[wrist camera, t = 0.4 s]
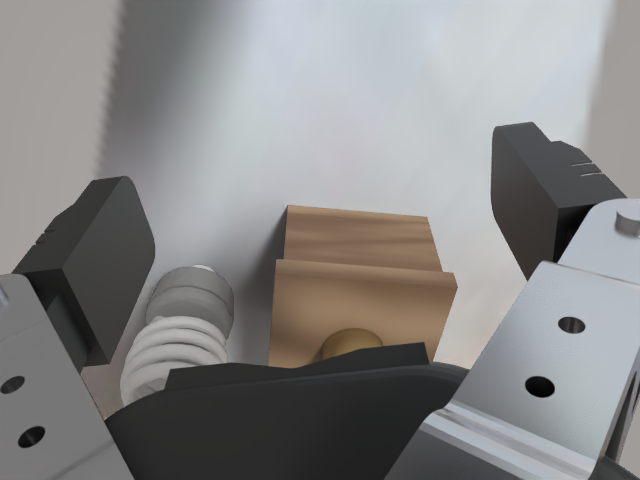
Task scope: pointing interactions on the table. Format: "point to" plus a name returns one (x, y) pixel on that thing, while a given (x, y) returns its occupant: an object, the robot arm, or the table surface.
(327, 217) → the box
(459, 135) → the table surface
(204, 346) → the light bulb
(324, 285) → the lid
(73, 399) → the robot arm
